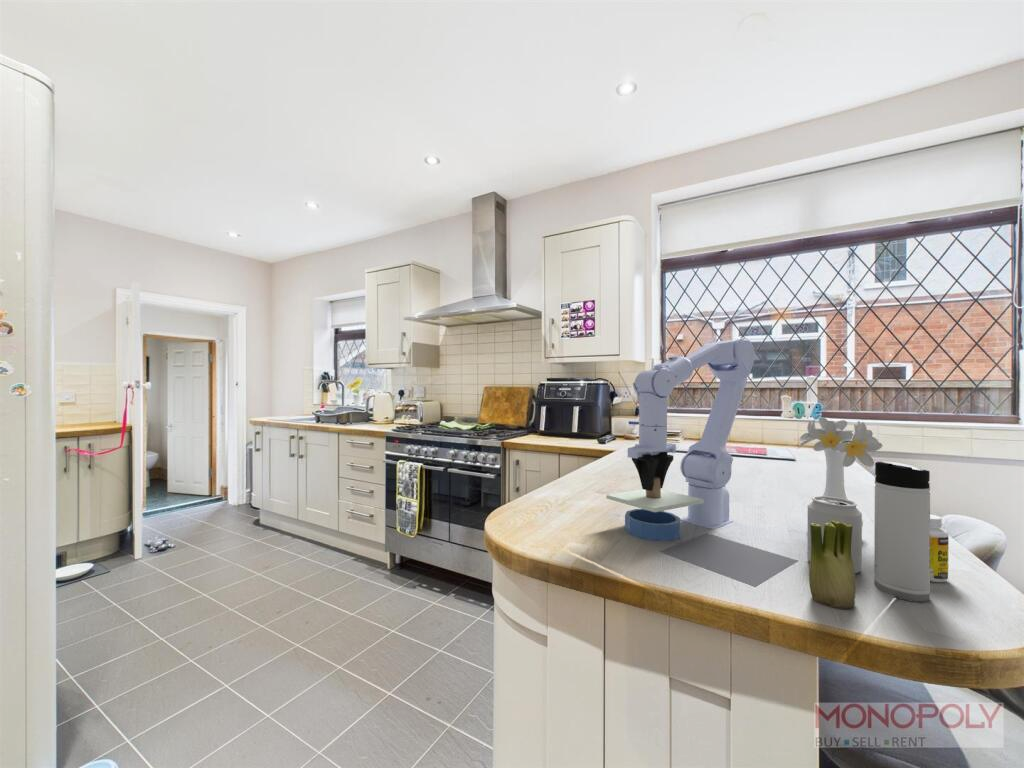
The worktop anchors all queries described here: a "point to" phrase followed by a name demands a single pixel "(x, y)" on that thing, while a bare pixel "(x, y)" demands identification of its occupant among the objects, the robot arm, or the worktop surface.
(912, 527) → the travel mug
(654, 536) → the bowl
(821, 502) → the can
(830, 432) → the flower vase
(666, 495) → the lid
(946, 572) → the supplement bottle
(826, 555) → the fennel bulb
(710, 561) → the mat
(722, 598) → the worktop surface
